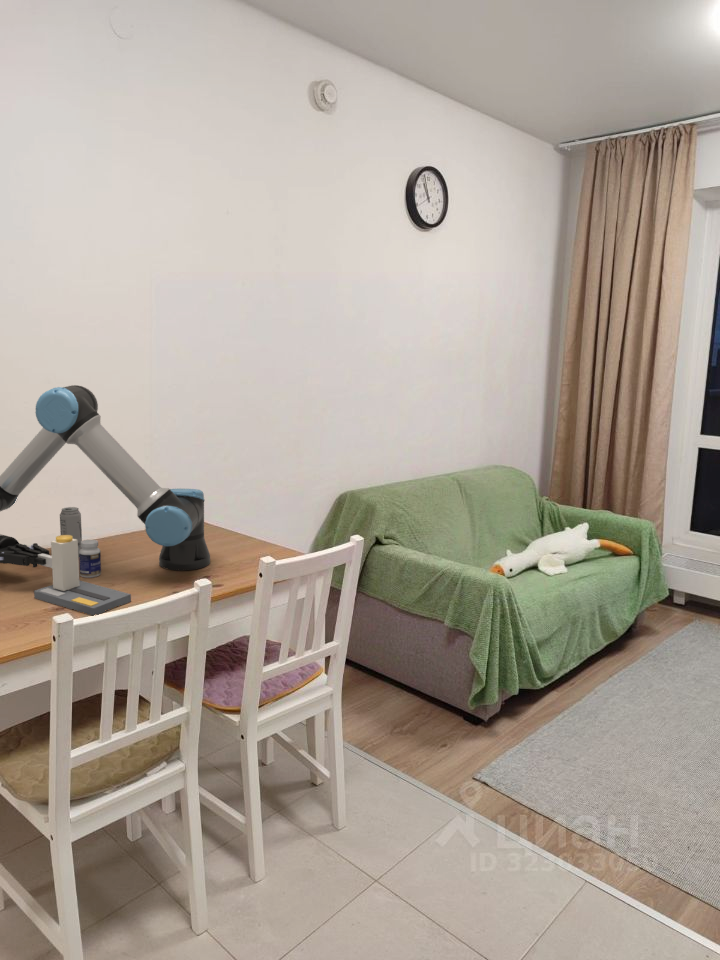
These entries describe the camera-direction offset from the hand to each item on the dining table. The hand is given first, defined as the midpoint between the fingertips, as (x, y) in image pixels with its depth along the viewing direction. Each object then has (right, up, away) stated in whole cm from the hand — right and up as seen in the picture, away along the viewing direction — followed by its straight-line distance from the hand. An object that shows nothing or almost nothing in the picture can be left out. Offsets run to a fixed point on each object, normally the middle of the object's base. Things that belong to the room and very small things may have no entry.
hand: (56, 563), depth 189 cm
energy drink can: (-9, -2, +33) cm, 35 cm away
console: (+8, -9, -2) cm, 12 cm away
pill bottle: (+3, -6, +17) cm, 18 cm away
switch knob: (+2, -6, 0) cm, 7 cm away
